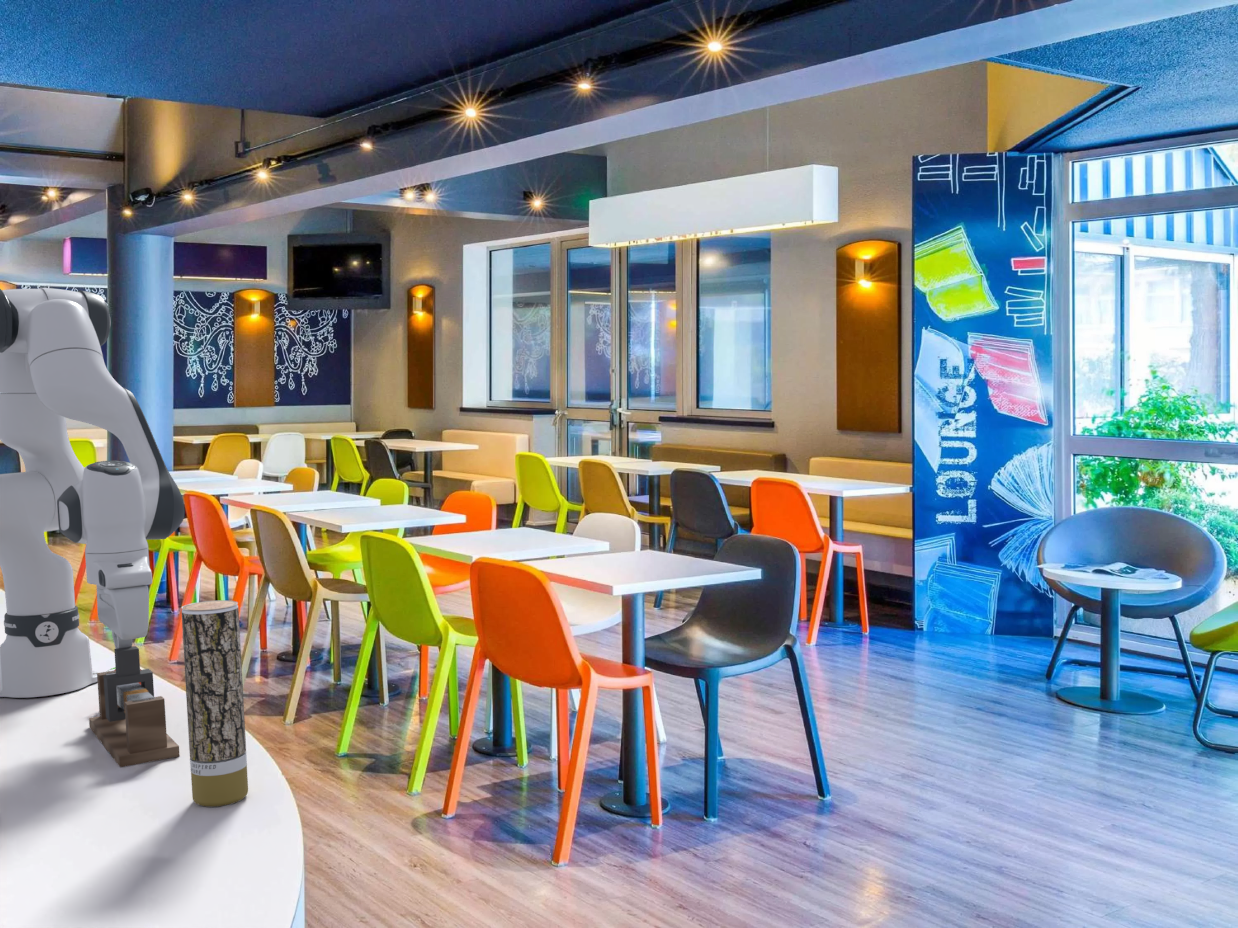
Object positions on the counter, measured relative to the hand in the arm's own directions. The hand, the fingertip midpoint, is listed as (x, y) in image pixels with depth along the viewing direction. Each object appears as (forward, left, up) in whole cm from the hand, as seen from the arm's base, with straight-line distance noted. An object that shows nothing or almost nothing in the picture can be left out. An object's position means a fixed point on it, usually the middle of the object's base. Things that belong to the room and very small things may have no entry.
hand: (124, 659), depth 182 cm
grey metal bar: (+3, 0, -6) cm, 7 cm away
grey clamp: (+3, 0, -8) cm, 9 cm away
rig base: (+3, 0, -12) cm, 12 cm away
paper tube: (+38, +4, -12) cm, 40 cm away
